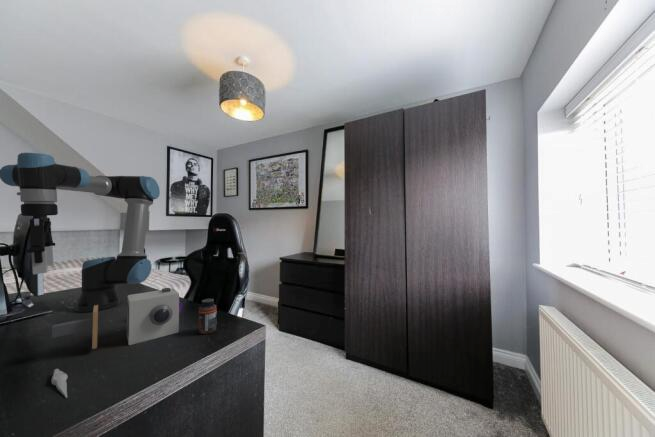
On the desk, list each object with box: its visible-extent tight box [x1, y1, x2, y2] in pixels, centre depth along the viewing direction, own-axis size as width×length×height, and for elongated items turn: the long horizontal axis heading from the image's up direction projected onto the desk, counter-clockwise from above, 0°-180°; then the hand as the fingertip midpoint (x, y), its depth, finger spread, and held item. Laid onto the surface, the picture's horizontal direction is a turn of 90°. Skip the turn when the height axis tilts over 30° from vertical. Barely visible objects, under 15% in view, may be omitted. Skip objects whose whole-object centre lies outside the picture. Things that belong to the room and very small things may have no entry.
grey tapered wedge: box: [50, 368, 69, 399], centre depth 59 cm, size 15×3×2 cm, turn 55°
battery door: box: [51, 305, 99, 350], centre depth 74 cm, size 8×10×11 cm
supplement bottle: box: [197, 298, 218, 335], centre depth 89 cm, size 6×6×11 cm
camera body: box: [126, 287, 180, 346], centre depth 86 cm, size 12×14×15 cm
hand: (44, 269), depth 78 cm, fingers open, 13 cm apart
